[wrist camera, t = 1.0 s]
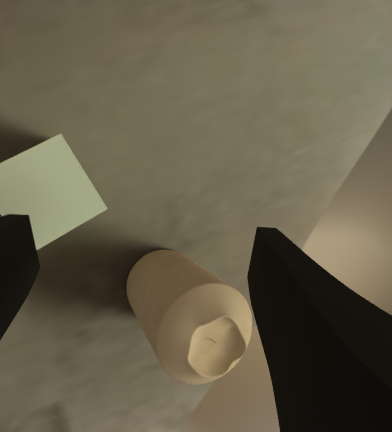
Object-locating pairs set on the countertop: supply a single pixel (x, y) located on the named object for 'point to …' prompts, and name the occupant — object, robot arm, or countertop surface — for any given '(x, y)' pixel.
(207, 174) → the countertop surface
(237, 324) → the candle
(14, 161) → the sage block
